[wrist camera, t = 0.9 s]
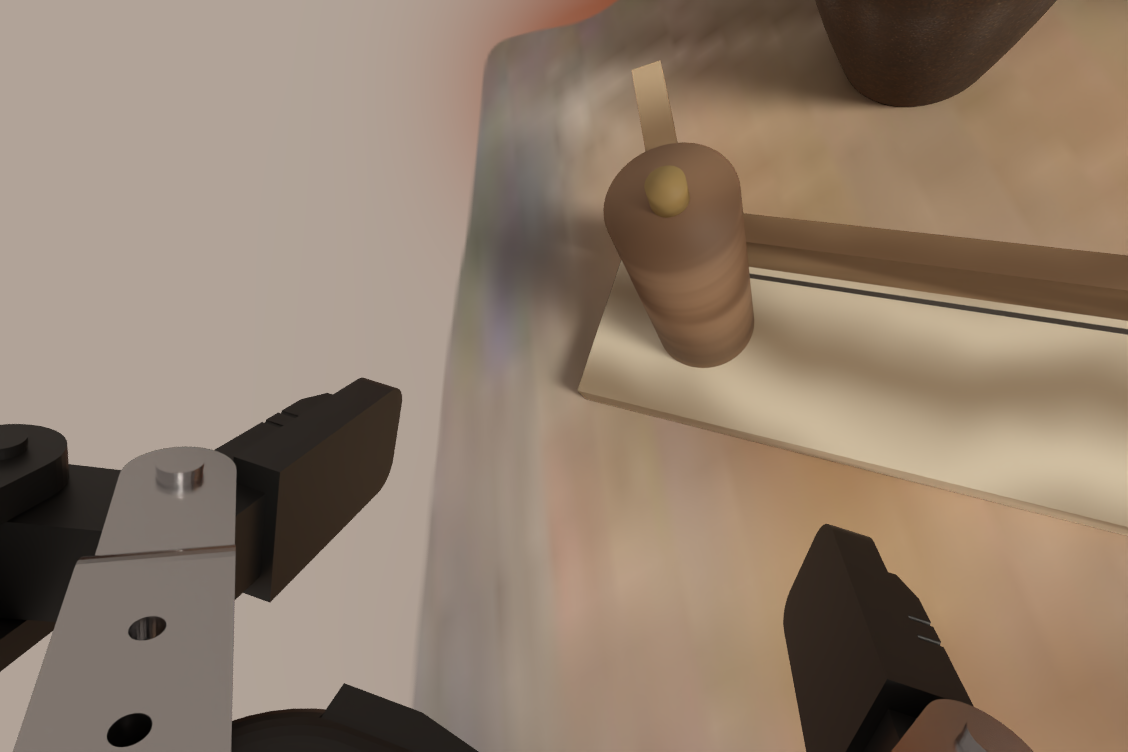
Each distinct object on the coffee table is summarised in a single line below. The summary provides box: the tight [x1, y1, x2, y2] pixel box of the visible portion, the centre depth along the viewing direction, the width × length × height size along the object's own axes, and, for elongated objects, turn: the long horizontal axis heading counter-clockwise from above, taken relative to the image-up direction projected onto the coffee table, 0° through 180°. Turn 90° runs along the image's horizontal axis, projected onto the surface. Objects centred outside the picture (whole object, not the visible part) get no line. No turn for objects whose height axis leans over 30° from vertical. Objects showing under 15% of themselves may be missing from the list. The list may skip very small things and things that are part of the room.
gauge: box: [604, 60, 754, 368], centre depth 27 cm, size 10×5×12 cm, turn 6°
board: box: [577, 214, 1128, 536], centre depth 28 cm, size 10×25×4 cm, turn 71°
